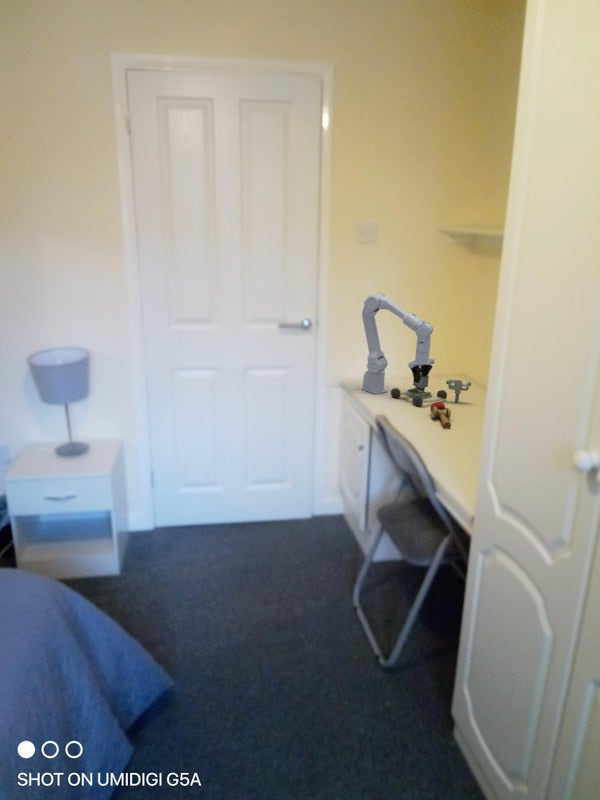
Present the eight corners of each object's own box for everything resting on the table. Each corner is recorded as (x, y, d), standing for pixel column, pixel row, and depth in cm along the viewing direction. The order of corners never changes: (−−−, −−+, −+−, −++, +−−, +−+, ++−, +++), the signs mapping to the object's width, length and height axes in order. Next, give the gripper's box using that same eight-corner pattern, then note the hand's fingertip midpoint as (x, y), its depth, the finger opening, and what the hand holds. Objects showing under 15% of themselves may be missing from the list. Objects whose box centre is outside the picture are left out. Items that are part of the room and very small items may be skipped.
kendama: (458, 431, 229) (446, 410, 245) (457, 417, 226) (445, 397, 242) (438, 434, 229) (427, 413, 245) (437, 420, 226) (426, 400, 242)
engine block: (413, 385, 261) (413, 374, 260) (419, 384, 264) (420, 373, 262) (421, 388, 258) (422, 377, 256) (427, 386, 260) (428, 375, 258)
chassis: (388, 396, 265) (389, 386, 264) (415, 390, 275) (415, 381, 274) (421, 408, 250) (422, 398, 249) (448, 401, 260) (449, 392, 259)
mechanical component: (468, 405, 256) (471, 382, 253) (444, 403, 258) (446, 380, 255) (468, 403, 259) (470, 381, 256) (444, 401, 261) (446, 379, 258)
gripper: (418, 355, 249) (415, 386, 253) (441, 351, 257) (438, 381, 261) (405, 351, 254) (403, 382, 258) (428, 347, 263) (426, 377, 267)
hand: (419, 381), depth 260 cm, fingers closed on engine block, 4 cm apart
